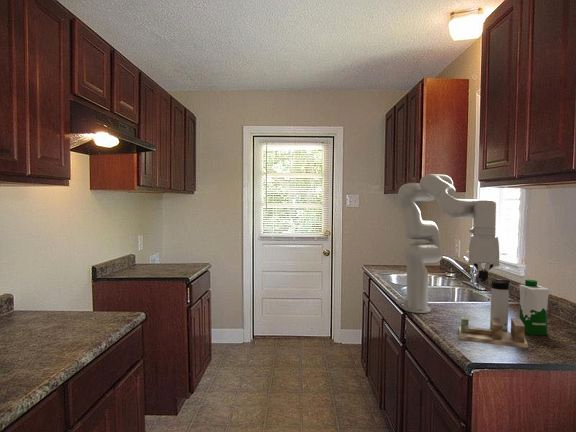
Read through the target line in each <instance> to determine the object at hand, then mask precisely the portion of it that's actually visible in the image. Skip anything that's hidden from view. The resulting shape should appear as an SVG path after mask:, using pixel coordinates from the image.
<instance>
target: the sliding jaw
mask: <svg viewBox="0 0 576 432" xmlns="http://www.w3.org/2000/svg"><path fill="white" fill-rule="evenodd" d="M460 317H461V319H460V322H461V323H460V327H461V332H465V333H468V332H471V333H479V334H487V335H492V338H494V339H502V324H501V321H500V319H499V318H492V317H490V318H489V319H490V320H489V322H490V323H489V328H483V327H482V328H481V327H475V326H474V327H473V326H469V317H468V316H465V315H461V316H460Z"/></svg>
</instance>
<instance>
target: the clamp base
mask: <svg viewBox="0 0 576 432" xmlns="http://www.w3.org/2000/svg"><path fill="white" fill-rule="evenodd" d="M458 332H459V339H460V340H467V341H473V342H479V343H480V342H481V343H488V344H494V345H495V344H496V345H504V346H510V347H511V346H512V347H518V348H525V349H526V348H527V349H528V348H529V344H528V341H527V339H526V338H525V334H526V332H525V326H524V324H523V323H522V321H521V319H519V318H515V317H511V318H510V332H508V331H505V332H502V339H494V338H492V335H487V334H479V333H471V332H468V333H465V332H461V325H460V326H458Z"/></svg>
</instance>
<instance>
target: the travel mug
mask: <svg viewBox="0 0 576 432" xmlns="http://www.w3.org/2000/svg"><path fill="white" fill-rule="evenodd" d="M510 283H511V280H509V279H494V280H492V281H491V289H490V291H491V292H490V317H492V318H499V319H500V321H501V324H502V332H508V329H509V328H508V327H509V326H508V325H509V303H510V301H509V300H510Z"/></svg>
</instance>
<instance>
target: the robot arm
mask: <svg viewBox="0 0 576 432" xmlns="http://www.w3.org/2000/svg"><path fill="white" fill-rule="evenodd" d="M455 195H456V188H455V186H454V182H453V180H452V178H451V176H449V175H446V174H435V173H433V174H432V173H430V174H426V175H423V176H422V177H421V178H420V180H419V182H409V183H408V182H407V183H405V184H402V185H401V186H400V187H399V189H398V193H397V201H398V205H399V208H400V212H401V214H402V222H403V227H404V234H405V237H406V238H407V240H409V241H424V242H414V243H410V244H409V245H407V246H406V248H405V249H404V253H405V254H404V255H405V256H404V257H405V262H406V263H405V264H406V296H405V299H401V298H400V299H399V298H397V299H396V304H398V305H402V310H404V311H406V312H408V313H409V312H410V313H413V314H414V313H415V314H427V313H430V312H432V311H431V310H432V308H431V307H430V306H428V294H429V289H428V288H429V271H428V269H427V267H426V265H425V264H431V263H432V264H433V263H434V264H435V263H438V262H439V261H441V259H442V258H443V247H442V241H441V235H440V230H439V228H438V227H439V226H437V224H436V223H435V222H434V221H432V220H423V219H422V214H421V213H422V212H421V210H420V208H419V207H418V205H417V204H416V203H415V202H432V201H434V200H436V201H437V205H438V208H439V209H440V210H441V211H442V212H443V213H444V214H446V215H447V216H449V217H451V218H453V219H472V221H473V223H472V224H473V225H472V226H473V227H472V228H469V229H468V232H469V233H471V234H472V235H471V236H470V239H469V246H468V247H469V249H468V262H467V264H468V265H470V266H473V267H475V269H476V270H478V279H479V280H480V282H484V283H486V282H487V280H488V279H489V275H488V274H489V271H490V270H491V269H492V268H498V267H500V266H501V265H500V264H501V263H500V243H499V237H498V236H496V222H497V221H496V220H497V203H496V201H495V200H494V199H469V198H465V199H464V198H463V199H462V198H455ZM482 264H485V265H484V269H483V268H482V267H483V266H482Z"/></svg>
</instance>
